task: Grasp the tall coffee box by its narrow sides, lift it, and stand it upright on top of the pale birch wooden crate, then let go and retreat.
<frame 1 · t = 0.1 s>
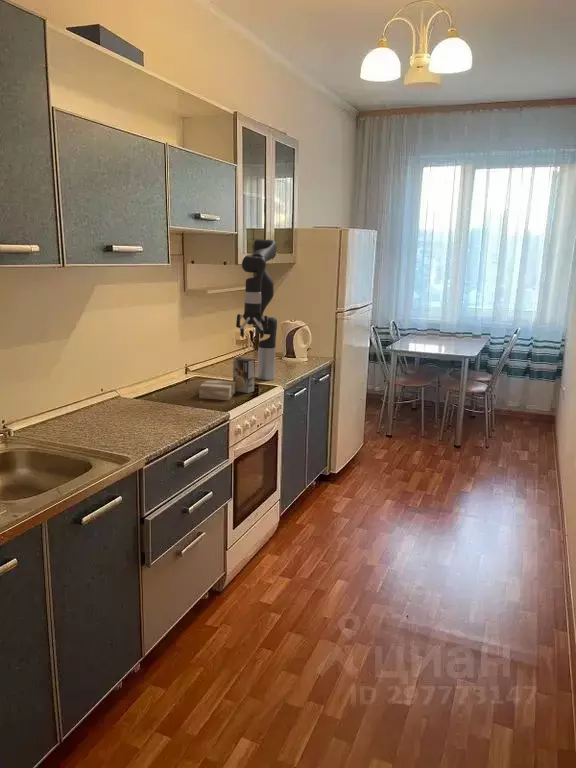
hand: (251, 337, 258), 29 cm above the countertop, tool pointing down, fingers open, 8 cm apart
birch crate: (217, 395, 269), on the countertop
coffee box: (243, 391, 280), on the countertop
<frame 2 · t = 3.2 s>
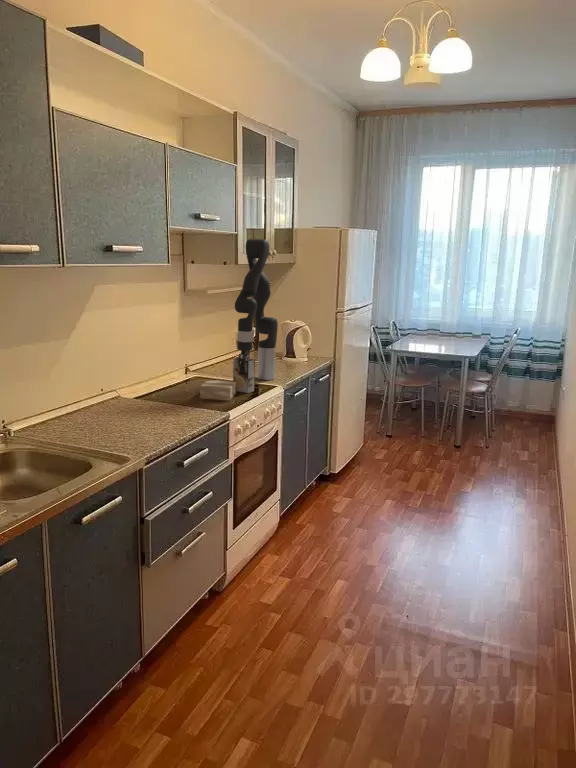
hand: (243, 372, 277), 9 cm above the countertop, tool pointing down, fingers closed on coffee box, 7 cm apart
coffee box: (243, 391, 280), on the countertop, touching gripper
everything else where it was.
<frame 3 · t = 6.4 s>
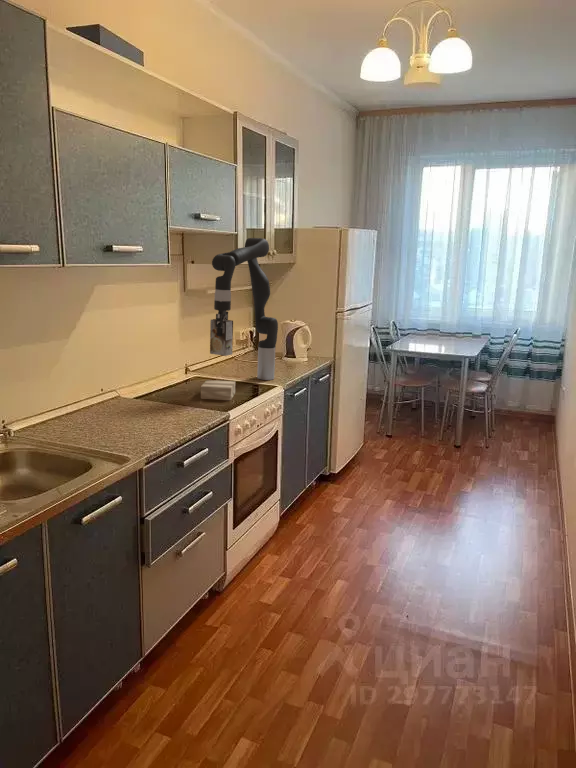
hand: (221, 334, 263), 29 cm above the countertop, tool pointing down, fingers closed on coffee box, 7 cm apart
coffee box: (221, 354, 265), point 20 cm above the countertop, touching gripper
everything else where it was.
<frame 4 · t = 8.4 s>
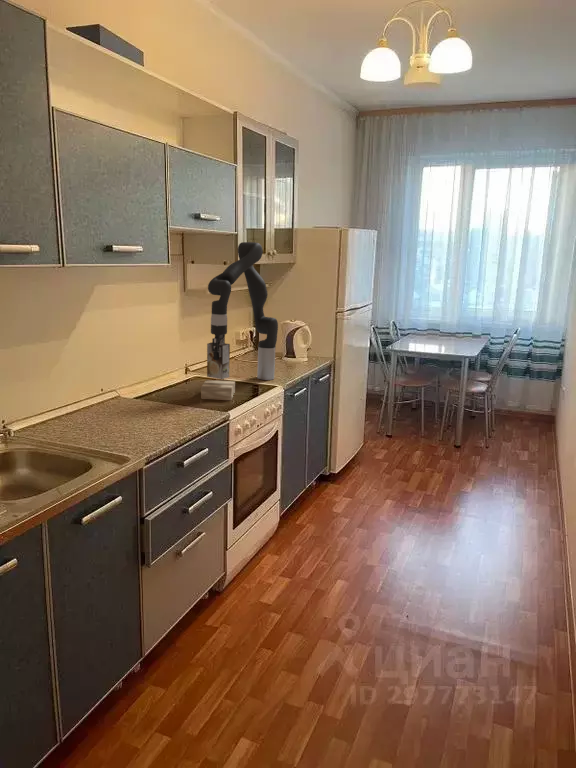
hand: (218, 358, 265), 18 cm above the countertop, tool pointing down, fingers closed on coffee box, 7 cm apart
coffee box: (218, 377, 267), point 9 cm above the countertop, touching gripper
everything else where it was.
when the fingers open (16 cm above the countertop, at t = 9.9 s): coffee box drops 2 cm, resting on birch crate.
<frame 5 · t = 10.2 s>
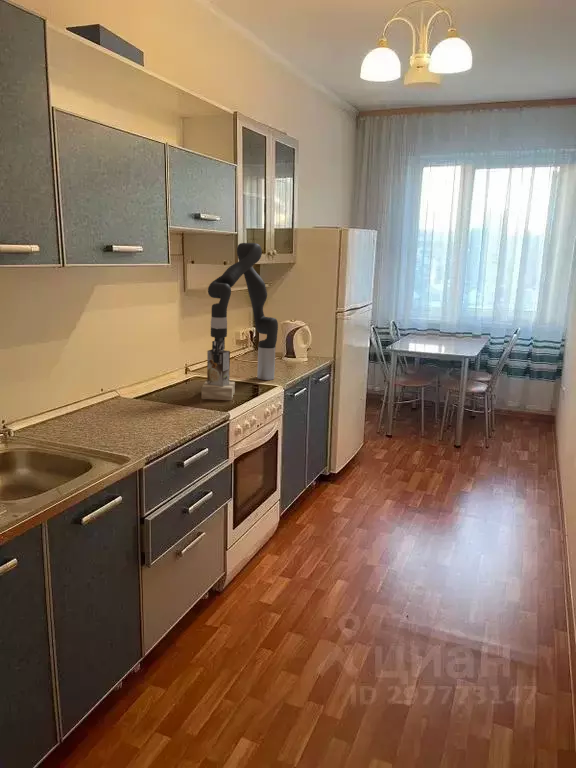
hand: (218, 360, 265), 17 cm above the countertop, tool pointing down, fingers open, 8 cm apart
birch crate: (218, 396, 269), on the countertop, touching coffee box
coffee box: (218, 384, 268), point 5 cm above the countertop, touching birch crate
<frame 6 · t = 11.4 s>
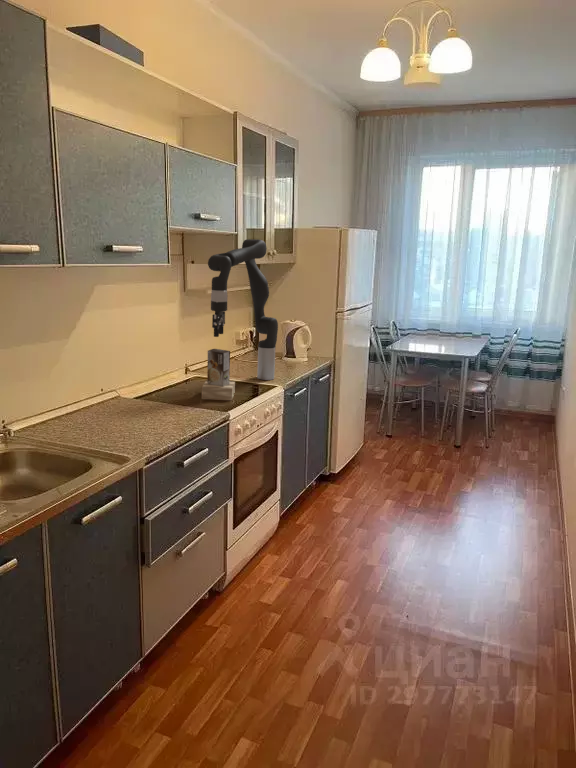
hand: (218, 335, 262), 29 cm above the countertop, tool pointing down, fingers open, 8 cm apart
nothing on the countertop moved.
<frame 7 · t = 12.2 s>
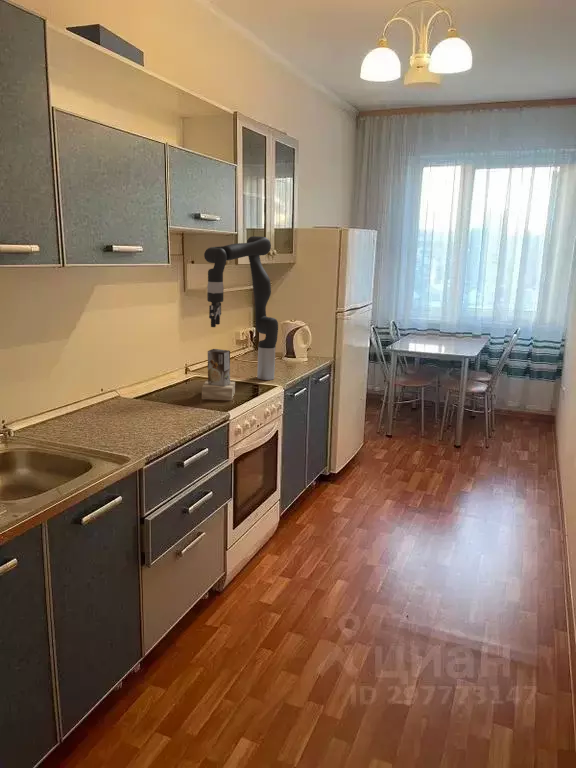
hand: (215, 325, 269), 32 cm above the countertop, tool pointing down, fingers open, 8 cm apart
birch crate: (218, 396, 268), on the countertop
coffee box: (219, 384, 268), point 5 cm above the countertop
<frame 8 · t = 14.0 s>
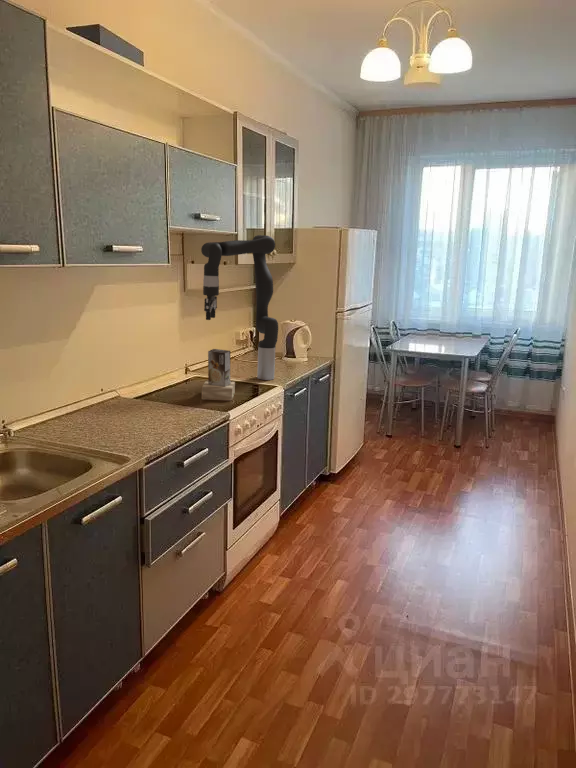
hand: (210, 318, 276), 34 cm above the countertop, tool pointing down, fingers open, 8 cm apart
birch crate: (218, 396, 268), on the countertop, touching coffee box
coffee box: (219, 384, 267), point 5 cm above the countertop, touching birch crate
at the end: coffee box inside the target area on the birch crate (0.4 cm from its centre), point 5.9 cm above the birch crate's base; coffee box tilted 1°; the gripper is holding nothing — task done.
